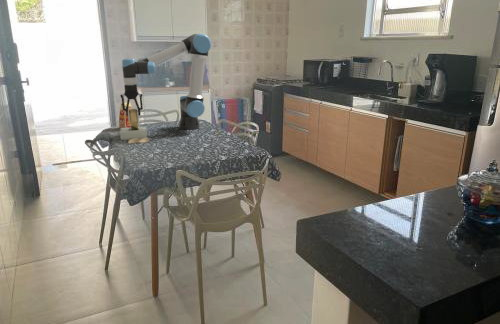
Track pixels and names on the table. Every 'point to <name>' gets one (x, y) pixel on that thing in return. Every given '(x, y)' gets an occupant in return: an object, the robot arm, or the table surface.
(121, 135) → the housing
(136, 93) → the robot arm
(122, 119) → the milk carton
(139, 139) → the pad
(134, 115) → the plug
